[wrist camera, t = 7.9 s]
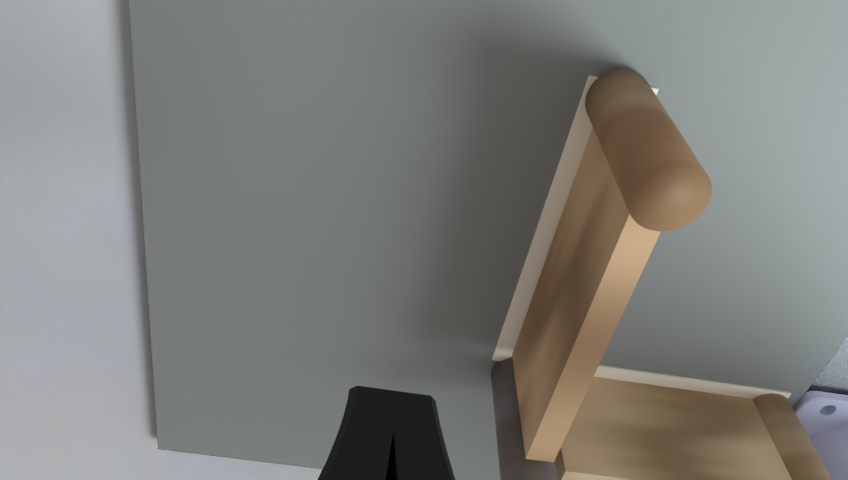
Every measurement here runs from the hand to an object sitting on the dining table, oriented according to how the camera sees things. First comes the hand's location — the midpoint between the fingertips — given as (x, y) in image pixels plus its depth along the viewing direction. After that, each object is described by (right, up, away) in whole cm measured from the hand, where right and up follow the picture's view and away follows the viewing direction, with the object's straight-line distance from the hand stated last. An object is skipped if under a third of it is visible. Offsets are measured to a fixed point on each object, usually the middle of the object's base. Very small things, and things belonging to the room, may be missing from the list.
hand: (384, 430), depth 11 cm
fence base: (+8, -2, +12) cm, 15 cm away
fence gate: (+5, +3, +8) cm, 10 cm away
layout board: (+3, +2, +9) cm, 10 cm away
